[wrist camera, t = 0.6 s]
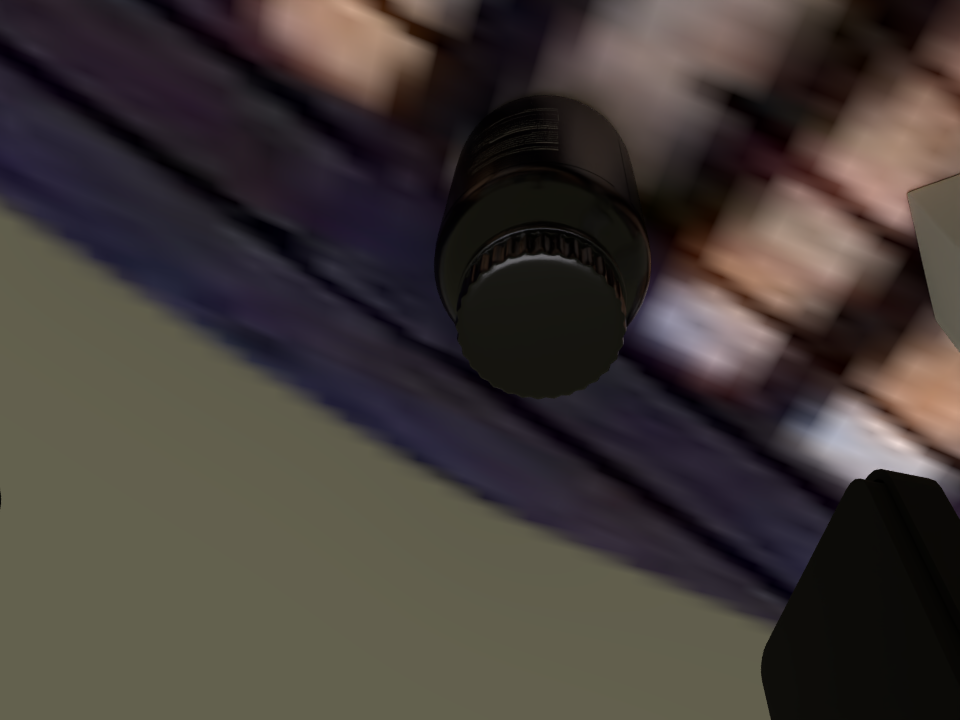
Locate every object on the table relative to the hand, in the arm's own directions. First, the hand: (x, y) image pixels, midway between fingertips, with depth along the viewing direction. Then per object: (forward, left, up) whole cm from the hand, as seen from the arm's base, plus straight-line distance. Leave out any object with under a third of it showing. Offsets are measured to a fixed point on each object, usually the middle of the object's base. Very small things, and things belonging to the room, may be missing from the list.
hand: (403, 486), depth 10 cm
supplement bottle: (+3, +5, -26) cm, 27 cm away
